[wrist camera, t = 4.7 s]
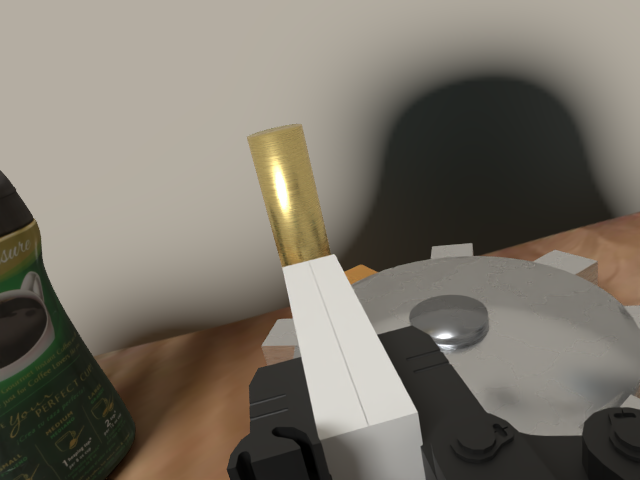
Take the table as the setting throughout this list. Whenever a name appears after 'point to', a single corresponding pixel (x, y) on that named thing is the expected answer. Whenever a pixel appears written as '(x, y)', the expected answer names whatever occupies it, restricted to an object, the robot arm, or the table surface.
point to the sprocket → (472, 309)
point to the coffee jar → (48, 371)
